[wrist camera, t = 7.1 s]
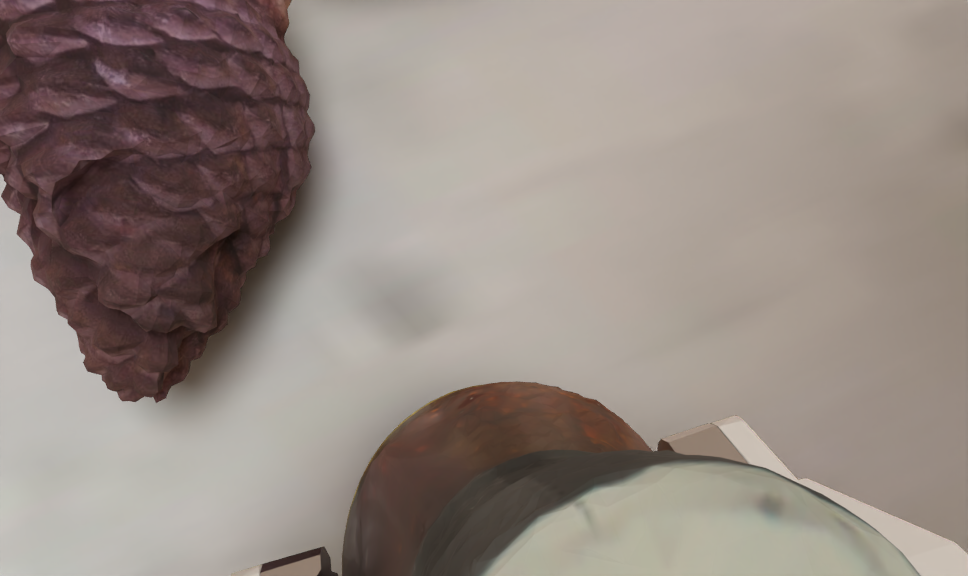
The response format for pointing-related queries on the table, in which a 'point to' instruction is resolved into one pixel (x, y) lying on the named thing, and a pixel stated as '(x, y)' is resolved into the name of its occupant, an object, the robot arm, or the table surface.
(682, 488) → the sauce bottle
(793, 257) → the table surface
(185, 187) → the pine cone
